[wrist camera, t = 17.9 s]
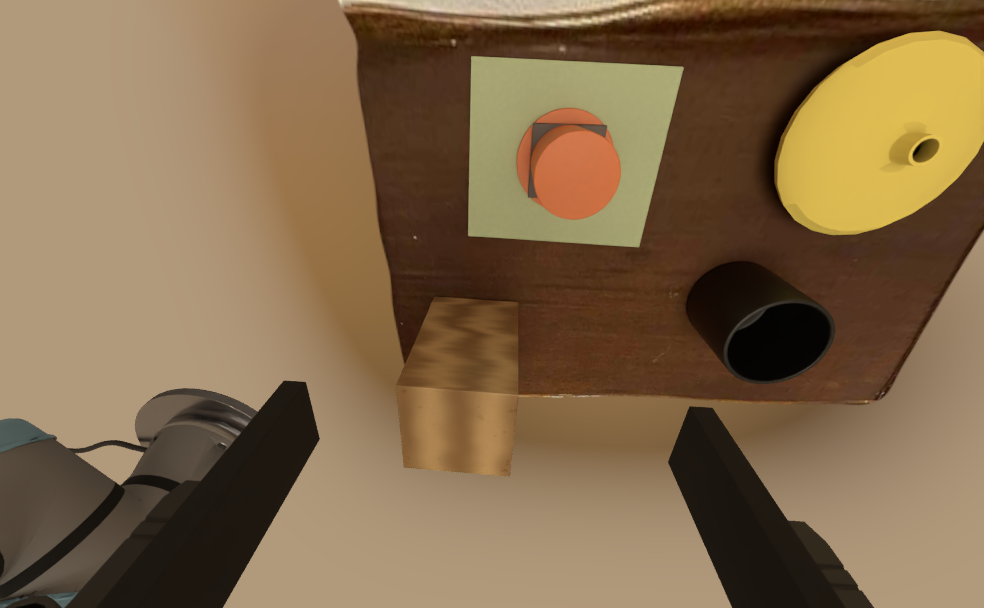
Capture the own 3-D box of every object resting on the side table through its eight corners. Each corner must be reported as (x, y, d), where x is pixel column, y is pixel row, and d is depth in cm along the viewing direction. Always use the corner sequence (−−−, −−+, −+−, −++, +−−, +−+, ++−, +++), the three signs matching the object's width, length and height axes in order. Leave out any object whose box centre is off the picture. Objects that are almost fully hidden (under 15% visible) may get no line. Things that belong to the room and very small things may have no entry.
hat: (514, 206, 38) (513, 233, 30) (519, 106, 34) (520, 107, 26) (603, 210, 37) (626, 238, 30) (620, 109, 33) (652, 111, 25)
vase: (889, 232, 38) (962, 258, 32) (732, 219, 38) (774, 241, 32) (1002, 44, 30) (1127, 29, 24) (805, 29, 31) (878, 11, 24)
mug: (764, 347, 45) (817, 399, 37) (670, 324, 44) (704, 372, 36) (815, 278, 41) (887, 321, 33) (711, 251, 40) (760, 288, 32)
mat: (469, 233, 40) (467, 236, 40) (472, 57, 33) (471, 55, 32) (636, 244, 40) (639, 247, 39) (679, 67, 32) (683, 66, 31)
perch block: (436, 363, 49) (403, 467, 35) (434, 296, 44) (395, 385, 30) (512, 369, 49) (509, 476, 35) (518, 302, 44) (518, 395, 30)
